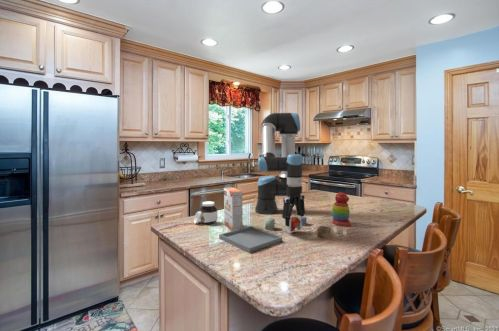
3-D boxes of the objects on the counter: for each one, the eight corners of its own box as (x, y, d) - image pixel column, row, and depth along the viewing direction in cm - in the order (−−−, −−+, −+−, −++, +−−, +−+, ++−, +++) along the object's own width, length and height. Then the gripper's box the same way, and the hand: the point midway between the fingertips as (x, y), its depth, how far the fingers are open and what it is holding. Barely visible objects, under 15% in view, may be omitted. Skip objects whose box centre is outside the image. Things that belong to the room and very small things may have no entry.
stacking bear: (352, 227, 143) (353, 194, 141) (332, 225, 145) (333, 193, 143) (348, 221, 153) (349, 191, 152) (330, 220, 155) (331, 190, 154)
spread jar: (219, 223, 150) (219, 202, 149) (203, 227, 141) (203, 206, 140) (206, 218, 158) (206, 199, 157) (190, 223, 150) (190, 202, 149)
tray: (219, 238, 125) (219, 234, 125) (250, 229, 138) (250, 226, 138) (249, 253, 108) (249, 248, 108) (282, 241, 121) (282, 237, 121)
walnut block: (317, 237, 127) (317, 228, 126) (320, 234, 131) (320, 225, 130) (327, 239, 124) (327, 230, 124) (330, 236, 128) (330, 227, 128)
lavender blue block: (293, 223, 149) (293, 216, 149) (297, 222, 152) (297, 215, 152) (302, 225, 145) (302, 218, 145) (306, 224, 148) (306, 217, 147)
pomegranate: (299, 232, 136) (285, 219, 139) (308, 223, 133) (293, 210, 136) (294, 239, 130) (279, 224, 133) (303, 229, 126) (287, 215, 129)
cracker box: (223, 224, 147) (223, 187, 145) (233, 223, 149) (233, 186, 147) (231, 232, 134) (231, 191, 132) (242, 230, 136) (242, 190, 134)
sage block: (263, 228, 140) (263, 219, 140) (269, 226, 143) (269, 217, 143) (269, 230, 136) (269, 221, 136) (276, 228, 140) (276, 219, 139)
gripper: (286, 188, 121) (285, 236, 123) (313, 184, 135) (311, 227, 137) (274, 186, 127) (274, 232, 129) (301, 182, 140) (300, 224, 142)
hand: (293, 230), depth 133 cm, fingers closed on pomegranate, 7 cm apart
